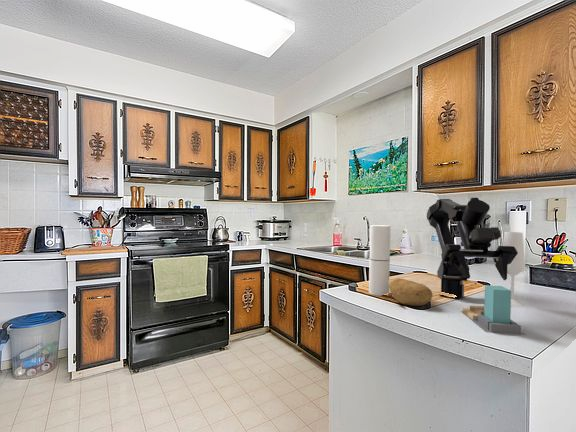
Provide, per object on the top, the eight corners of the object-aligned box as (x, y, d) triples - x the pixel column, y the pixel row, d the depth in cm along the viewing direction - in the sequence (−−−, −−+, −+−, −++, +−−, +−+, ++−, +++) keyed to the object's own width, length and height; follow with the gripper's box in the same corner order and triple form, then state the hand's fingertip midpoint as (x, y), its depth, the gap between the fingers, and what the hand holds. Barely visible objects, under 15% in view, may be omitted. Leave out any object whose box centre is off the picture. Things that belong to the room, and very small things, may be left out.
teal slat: (483, 322, 81) (484, 285, 80) (500, 323, 80) (501, 286, 80) (492, 329, 76) (493, 289, 76) (510, 330, 75) (511, 290, 75)
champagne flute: (529, 306, 98) (531, 232, 98) (514, 308, 96) (516, 233, 95) (508, 300, 104) (510, 231, 104) (494, 302, 102) (496, 231, 102)
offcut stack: (462, 311, 90) (462, 303, 89) (492, 313, 88) (492, 305, 88) (472, 319, 83) (473, 311, 83) (505, 321, 81) (505, 313, 81)
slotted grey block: (460, 314, 90) (460, 304, 90) (493, 316, 88) (494, 306, 88) (485, 335, 74) (486, 323, 74) (526, 339, 73) (527, 326, 73)
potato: (420, 314, 89) (421, 287, 89) (382, 302, 101) (382, 278, 101) (439, 309, 94) (440, 283, 94) (401, 297, 106) (401, 275, 106)
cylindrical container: (365, 292, 112) (366, 225, 111) (375, 289, 117) (376, 224, 116) (382, 297, 107) (384, 226, 106) (392, 293, 112) (394, 225, 111)
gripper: (445, 217, 90) (459, 259, 79) (515, 218, 87) (539, 262, 76) (436, 241, 98) (447, 282, 87) (499, 242, 95) (519, 286, 84)
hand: (487, 278), depth 83 cm, fingers open, 9 cm apart
